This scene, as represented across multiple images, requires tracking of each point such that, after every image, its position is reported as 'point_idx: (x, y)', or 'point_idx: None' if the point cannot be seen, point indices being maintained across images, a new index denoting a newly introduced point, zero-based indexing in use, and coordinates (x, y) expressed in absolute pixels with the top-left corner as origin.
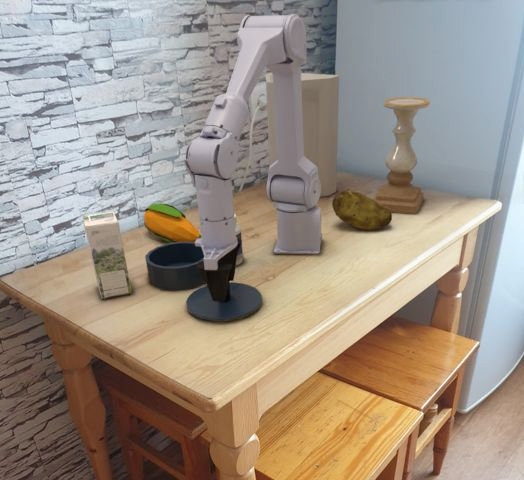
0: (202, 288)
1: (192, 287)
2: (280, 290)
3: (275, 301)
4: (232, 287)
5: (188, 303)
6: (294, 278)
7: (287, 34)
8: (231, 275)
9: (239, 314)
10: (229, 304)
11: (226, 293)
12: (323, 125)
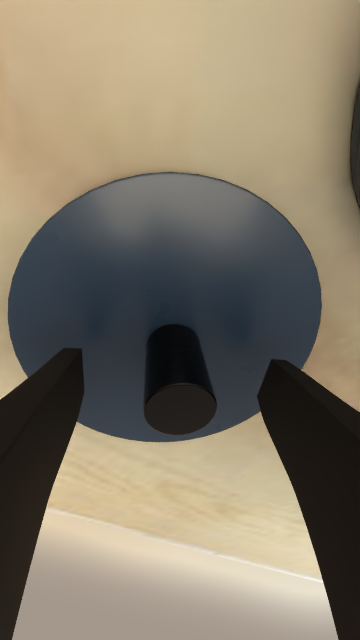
0: (290, 247)
1: (354, 179)
2: (242, 451)
3: (182, 448)
4: (264, 363)
5: (136, 189)
6: None
7: None
8: (268, 414)
9: None
10: (129, 368)
11: (73, 423)
12: None
